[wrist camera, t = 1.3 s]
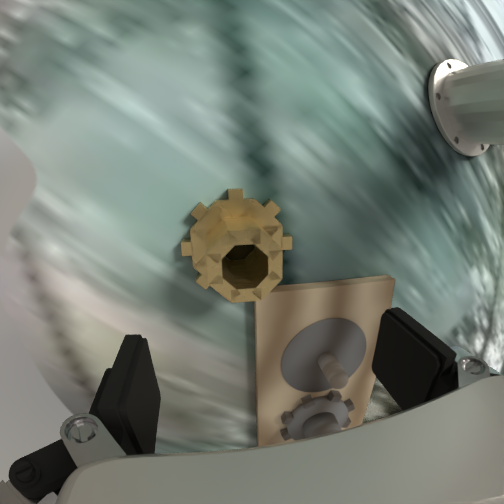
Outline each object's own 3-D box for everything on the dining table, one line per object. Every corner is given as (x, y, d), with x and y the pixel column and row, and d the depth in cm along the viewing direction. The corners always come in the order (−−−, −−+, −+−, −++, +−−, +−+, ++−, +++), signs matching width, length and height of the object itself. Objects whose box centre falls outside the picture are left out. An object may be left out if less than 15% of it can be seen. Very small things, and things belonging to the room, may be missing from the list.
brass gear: (288, 187, 27) (314, 193, 20) (288, 288, 29) (310, 322, 23) (178, 191, 25) (167, 199, 19) (187, 295, 28) (182, 333, 21)
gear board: (387, 274, 31) (426, 300, 24) (354, 427, 37) (373, 460, 31) (253, 287, 29) (267, 324, 22) (257, 446, 36) (265, 485, 29)
